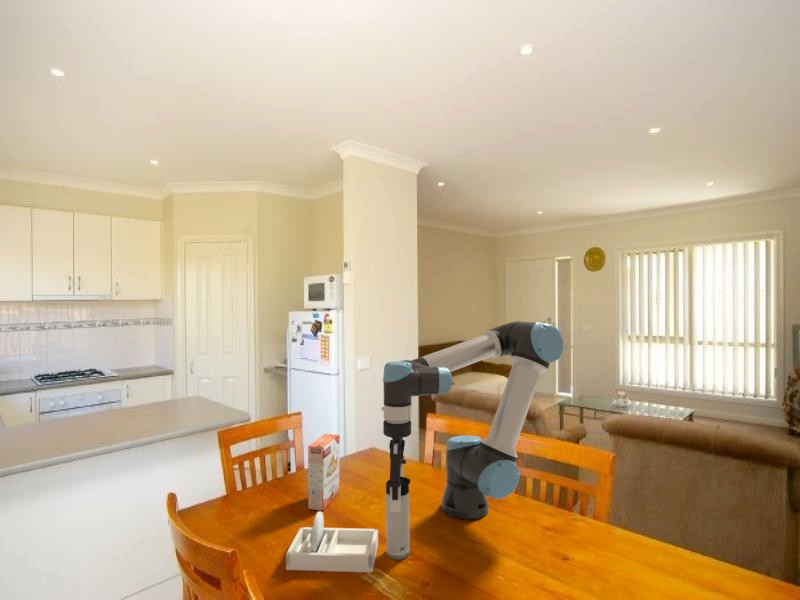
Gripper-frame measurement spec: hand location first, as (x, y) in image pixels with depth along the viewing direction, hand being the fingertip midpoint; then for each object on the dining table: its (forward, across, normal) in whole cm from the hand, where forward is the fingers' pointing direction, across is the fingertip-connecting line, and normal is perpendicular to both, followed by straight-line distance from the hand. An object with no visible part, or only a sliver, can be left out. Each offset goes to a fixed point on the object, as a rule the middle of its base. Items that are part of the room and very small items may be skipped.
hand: (397, 499), depth 117 cm
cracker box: (+15, -29, -26) cm, 42 cm away
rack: (+15, +2, -16) cm, 22 cm away
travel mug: (+15, 0, 0) cm, 15 cm away
